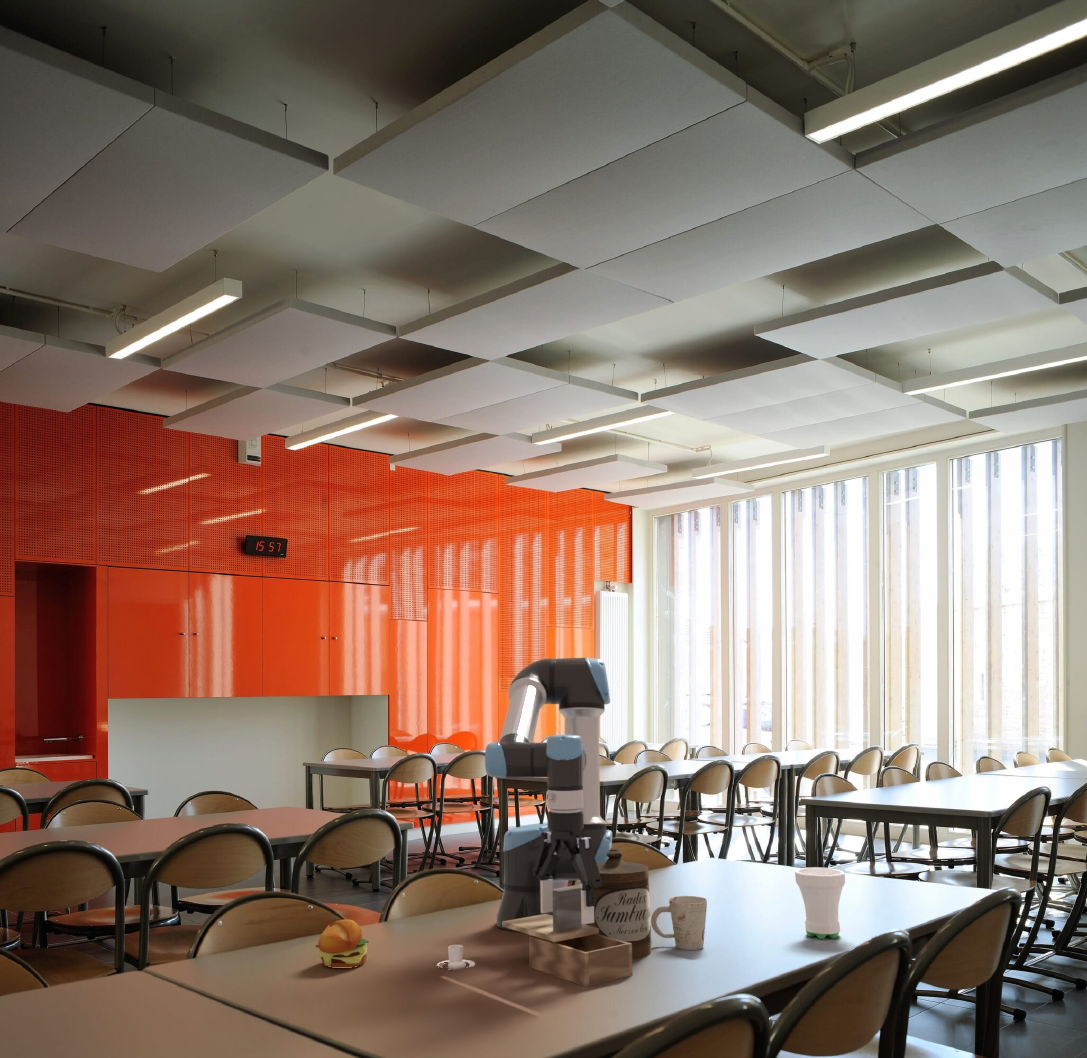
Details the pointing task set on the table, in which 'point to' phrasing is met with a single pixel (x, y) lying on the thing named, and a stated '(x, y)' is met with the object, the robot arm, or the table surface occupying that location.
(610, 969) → the box
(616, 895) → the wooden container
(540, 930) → the lid
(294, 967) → the table surface
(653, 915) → the mug
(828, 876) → the cup
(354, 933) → the cheeseburger
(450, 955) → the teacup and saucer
